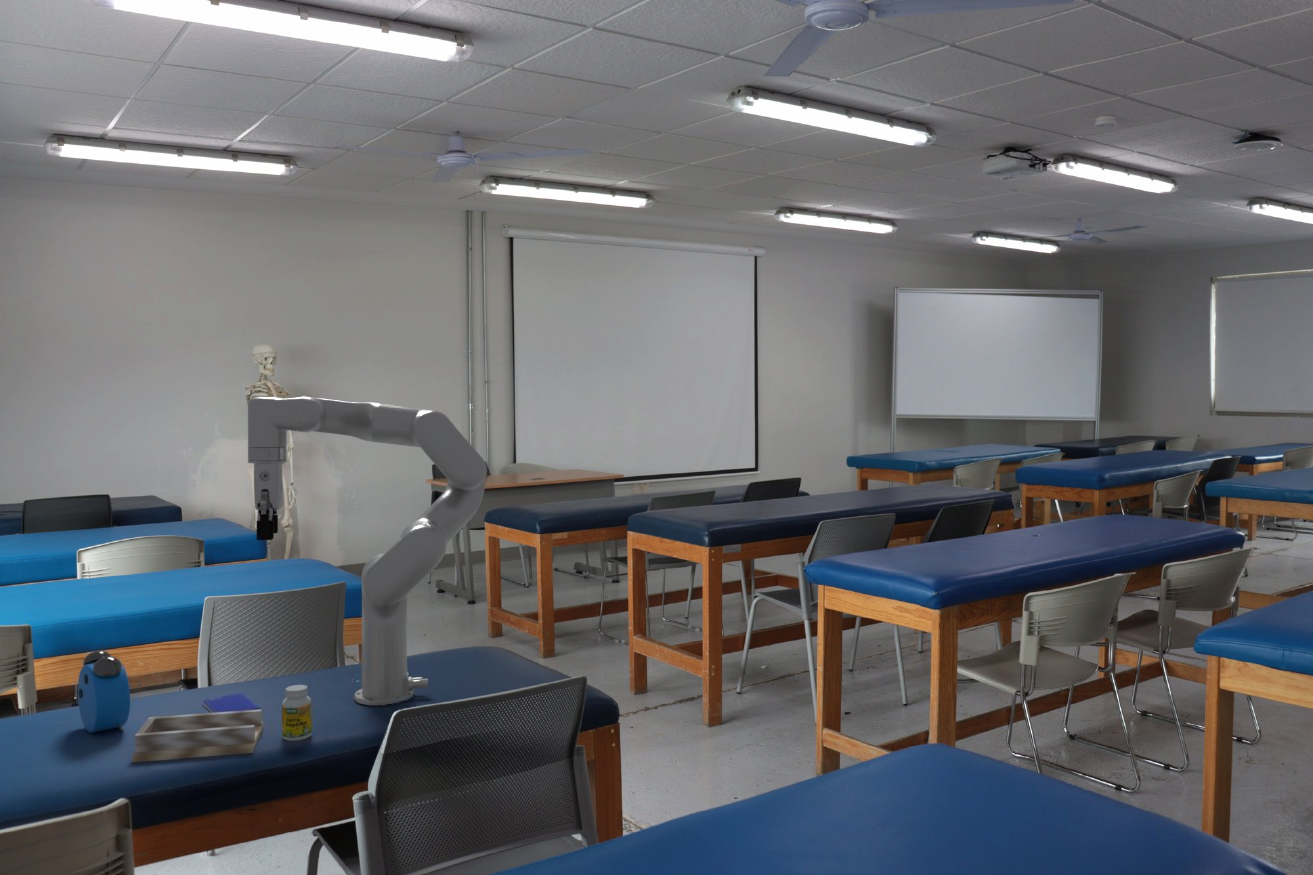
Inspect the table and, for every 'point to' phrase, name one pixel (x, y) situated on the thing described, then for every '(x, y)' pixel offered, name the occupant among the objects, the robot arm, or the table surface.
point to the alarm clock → (103, 692)
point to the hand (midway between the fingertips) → (267, 536)
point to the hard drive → (230, 703)
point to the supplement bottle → (296, 714)
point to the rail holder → (198, 735)
